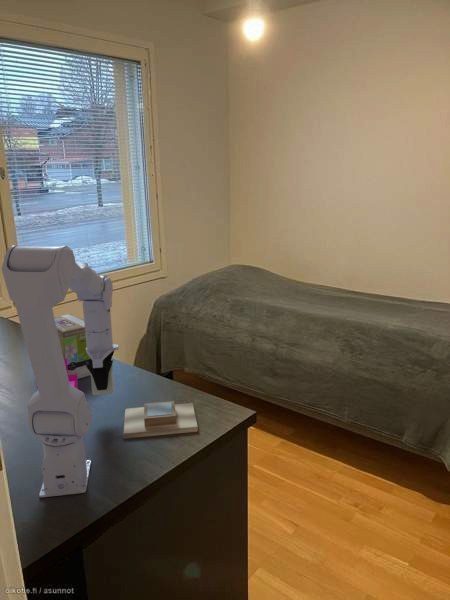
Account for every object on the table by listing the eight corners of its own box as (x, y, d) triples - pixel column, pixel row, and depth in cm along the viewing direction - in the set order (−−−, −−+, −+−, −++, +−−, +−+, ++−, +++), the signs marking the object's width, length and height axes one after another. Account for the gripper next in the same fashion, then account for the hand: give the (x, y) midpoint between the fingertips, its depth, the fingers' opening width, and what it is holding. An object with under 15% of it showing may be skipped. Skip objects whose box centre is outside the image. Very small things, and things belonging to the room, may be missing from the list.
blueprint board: (197, 431, 104) (197, 418, 103) (123, 438, 101) (122, 424, 100) (192, 407, 114) (192, 395, 113) (125, 413, 112) (124, 400, 111)
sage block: (112, 393, 106) (111, 373, 105) (92, 395, 106) (90, 375, 104) (113, 385, 111) (112, 365, 109) (94, 386, 110) (92, 366, 108)
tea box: (100, 372, 134) (96, 323, 130) (67, 383, 127) (61, 332, 123) (76, 357, 144) (71, 312, 140) (44, 367, 138) (38, 319, 134)
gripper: (115, 338, 98) (119, 397, 101) (118, 317, 111) (122, 370, 115) (80, 340, 97) (85, 400, 100) (87, 319, 110) (92, 372, 114)
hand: (103, 384), depth 108 cm, fingers closed on sage block, 4 cm apart
